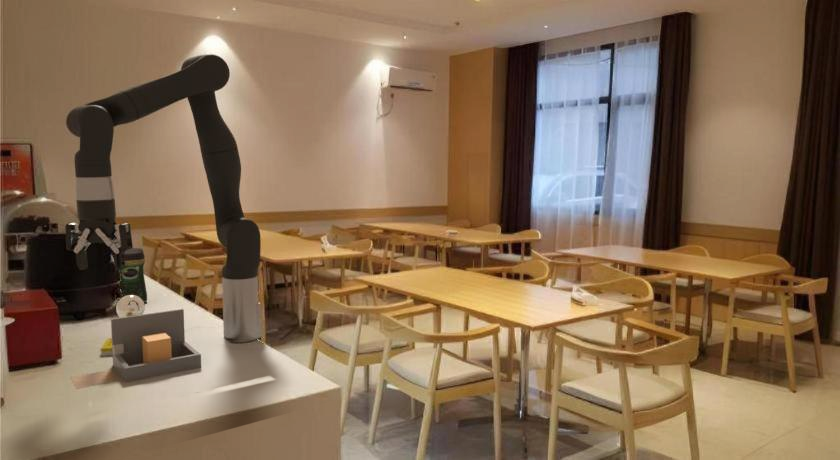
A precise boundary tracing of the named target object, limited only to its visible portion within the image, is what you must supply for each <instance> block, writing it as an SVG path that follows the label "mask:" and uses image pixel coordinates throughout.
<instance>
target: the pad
mask: <svg viewBox="0 0 840 460" xmlns="http://www.w3.org/2000/svg"><path fill="white" fill-rule="evenodd" d="M70 379H71V380H72V383H73V384H74V386H75V389H76V390H78V389H82V388H88V387H92V386H93V387H94V386H97V385H103V384H107V383H112V382H119V379H118V377H117V376H116V375H115V373H114V372H113V370H112V369H107V370H101V371H95V372H92V373H86V374H81V375H75V376H70Z"/></svg>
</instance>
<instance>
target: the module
mask: <svg viewBox="0 0 840 460" xmlns="http://www.w3.org/2000/svg"><path fill="white" fill-rule="evenodd" d="M142 346H143V364H144V363H149V362H155V361H160V360H166V359H171V358H172V352H171V338H170V337H169V336H168V335H167V334H166V333H160V334H154V335H148V336H142Z"/></svg>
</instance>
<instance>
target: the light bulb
mask: <svg viewBox="0 0 840 460" xmlns="http://www.w3.org/2000/svg"><path fill="white" fill-rule="evenodd" d="M145 307H146V306H145V302H143V300H142V299H141V298H140V297H138V296H136V295H126V296H124V297H122V298H121V299H120V300H119V301H118V303H116V307H115V308H116V314H117V316H118V318H121V317H128V316H135V315H142V314H145Z"/></svg>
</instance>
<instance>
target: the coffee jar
mask: <svg viewBox="0 0 840 460" xmlns="http://www.w3.org/2000/svg"><path fill="white" fill-rule="evenodd" d="M124 255H125V266H124V267H123V269H121V270H120V274H121V281H120V289H121V291H122V293H123V296H122V297H124V296H126V295H136V296H138V297H140V298H141V299H142V300H143V302H144V303H146V302H147V301H148V291H147V285H146V280H145V274H144V273H145V271H144V266H145V263H146V257H145V253H144V250H143V248H142V247H133V248H132V249H130V250H127V251H125V253H124ZM122 297H121V298H122ZM121 298H120V299H121ZM120 299H118V300H117V302H116V301H115V303H116V304H117V303H118V301H119V300H120Z"/></svg>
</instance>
